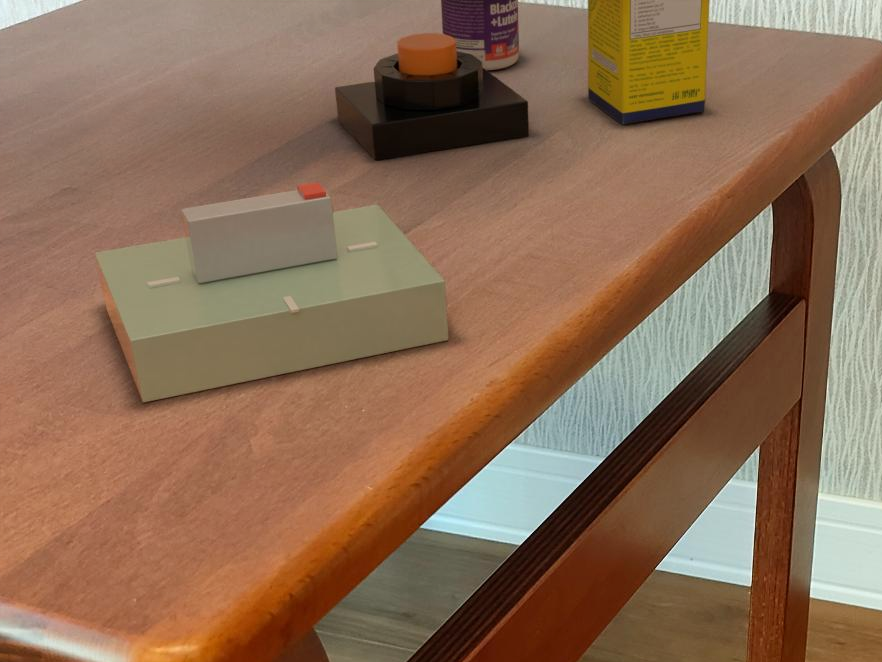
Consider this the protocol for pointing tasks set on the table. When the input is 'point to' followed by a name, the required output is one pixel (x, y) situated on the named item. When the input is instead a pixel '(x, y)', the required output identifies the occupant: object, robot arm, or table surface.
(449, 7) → the pill bottle
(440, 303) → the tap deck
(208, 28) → the table surface
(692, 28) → the supplement box
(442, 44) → the button
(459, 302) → the table surface
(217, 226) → the red-button grey box
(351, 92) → the button block
